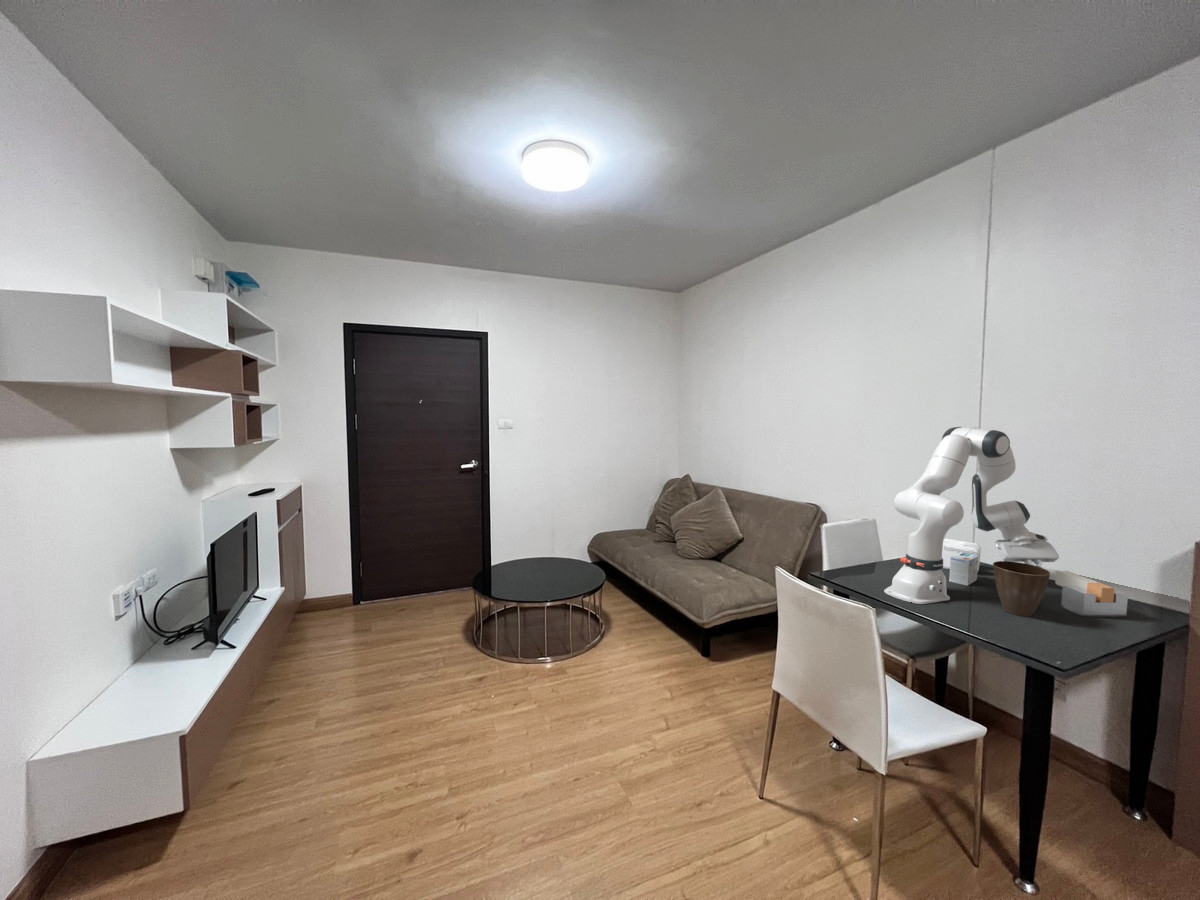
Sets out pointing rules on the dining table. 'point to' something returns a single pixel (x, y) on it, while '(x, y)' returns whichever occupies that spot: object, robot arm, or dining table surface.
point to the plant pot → (1020, 586)
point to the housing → (1093, 603)
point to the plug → (1086, 585)
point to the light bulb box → (963, 568)
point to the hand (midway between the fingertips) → (1038, 570)
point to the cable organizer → (958, 550)
